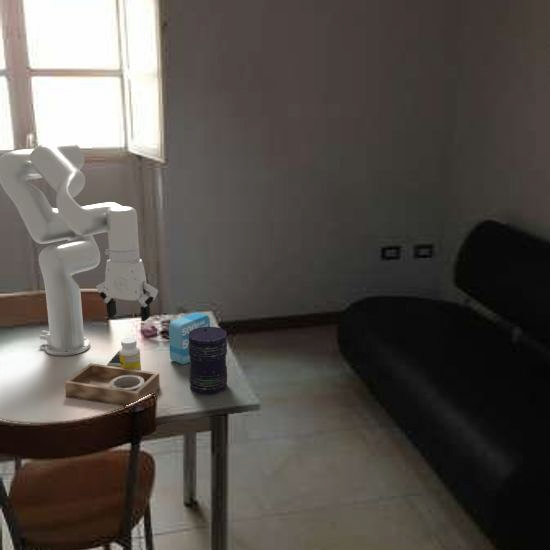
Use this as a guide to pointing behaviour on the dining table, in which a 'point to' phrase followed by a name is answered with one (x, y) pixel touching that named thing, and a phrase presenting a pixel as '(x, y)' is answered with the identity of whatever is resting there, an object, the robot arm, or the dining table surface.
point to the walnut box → (111, 384)
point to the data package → (184, 335)
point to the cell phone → (115, 361)
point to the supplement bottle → (129, 354)
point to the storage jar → (208, 360)
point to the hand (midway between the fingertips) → (128, 317)
